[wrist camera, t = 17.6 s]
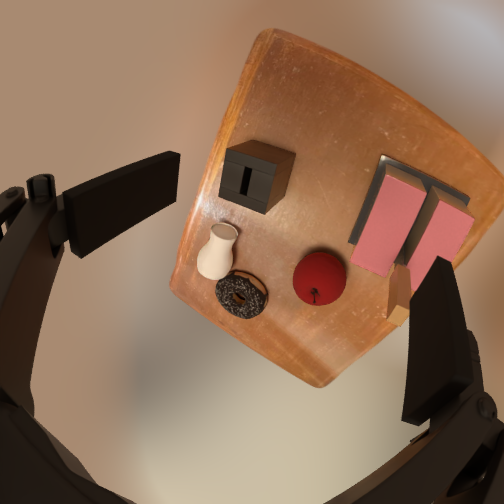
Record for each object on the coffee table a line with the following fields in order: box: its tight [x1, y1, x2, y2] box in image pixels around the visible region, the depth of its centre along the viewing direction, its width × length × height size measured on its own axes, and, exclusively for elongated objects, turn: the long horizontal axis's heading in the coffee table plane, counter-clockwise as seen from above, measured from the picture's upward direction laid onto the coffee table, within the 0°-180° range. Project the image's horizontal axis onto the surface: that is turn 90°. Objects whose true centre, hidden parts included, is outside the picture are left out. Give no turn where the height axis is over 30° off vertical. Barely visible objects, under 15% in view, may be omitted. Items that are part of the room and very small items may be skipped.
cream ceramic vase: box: [197, 223, 238, 280], centre depth 58 cm, size 7×7×10 cm
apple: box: [293, 252, 346, 306], centre depth 50 cm, size 9×9×10 cm
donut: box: [215, 271, 268, 319], centre depth 63 cm, size 11×12×4 cm
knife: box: [386, 241, 411, 326], centre depth 37 cm, size 3×2×19 cm, turn 168°
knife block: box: [218, 140, 296, 215], centre depth 46 cm, size 8×8×9 cm
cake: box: [348, 154, 475, 291], centre depth 39 cm, size 16×16×9 cm
